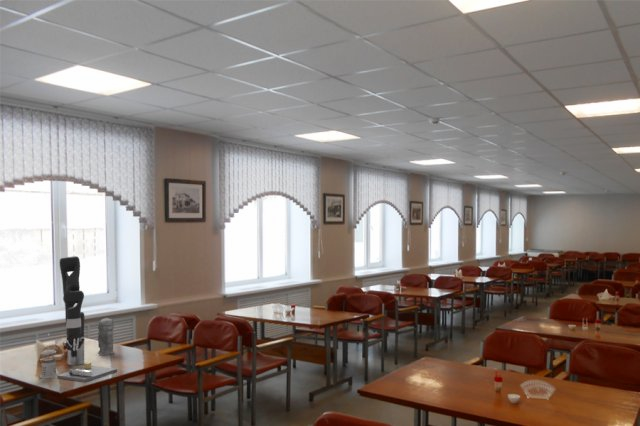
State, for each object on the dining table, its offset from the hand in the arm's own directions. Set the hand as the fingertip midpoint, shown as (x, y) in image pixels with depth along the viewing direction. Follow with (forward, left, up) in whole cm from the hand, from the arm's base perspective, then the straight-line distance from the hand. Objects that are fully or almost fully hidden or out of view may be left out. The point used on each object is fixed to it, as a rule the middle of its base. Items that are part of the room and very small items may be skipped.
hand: (74, 357), depth 284 cm
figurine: (-39, +57, -15) cm, 71 cm away
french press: (-28, +5, -15) cm, 32 cm away
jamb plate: (-7, +15, -14) cm, 21 cm away
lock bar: (-5, +8, -12) cm, 16 cm away
